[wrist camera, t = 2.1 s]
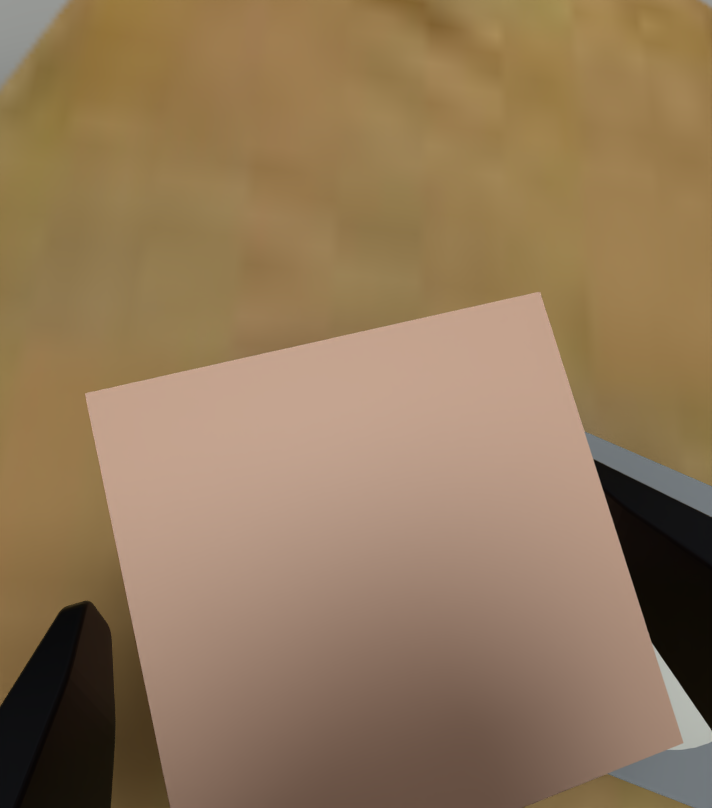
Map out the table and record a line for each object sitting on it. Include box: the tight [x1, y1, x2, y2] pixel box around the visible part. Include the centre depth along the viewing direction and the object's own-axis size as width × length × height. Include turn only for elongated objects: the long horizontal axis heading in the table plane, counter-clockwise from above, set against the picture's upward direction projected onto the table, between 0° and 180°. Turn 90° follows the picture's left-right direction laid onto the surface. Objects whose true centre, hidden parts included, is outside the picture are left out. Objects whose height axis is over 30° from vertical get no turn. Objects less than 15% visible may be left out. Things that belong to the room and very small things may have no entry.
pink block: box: [85, 292, 683, 808], centre depth 12 cm, size 6×6×12 cm
